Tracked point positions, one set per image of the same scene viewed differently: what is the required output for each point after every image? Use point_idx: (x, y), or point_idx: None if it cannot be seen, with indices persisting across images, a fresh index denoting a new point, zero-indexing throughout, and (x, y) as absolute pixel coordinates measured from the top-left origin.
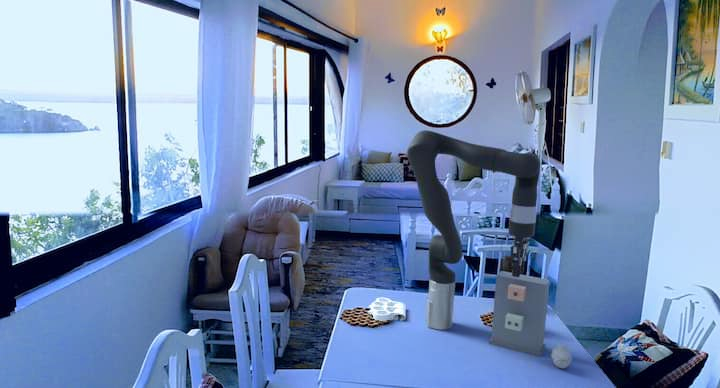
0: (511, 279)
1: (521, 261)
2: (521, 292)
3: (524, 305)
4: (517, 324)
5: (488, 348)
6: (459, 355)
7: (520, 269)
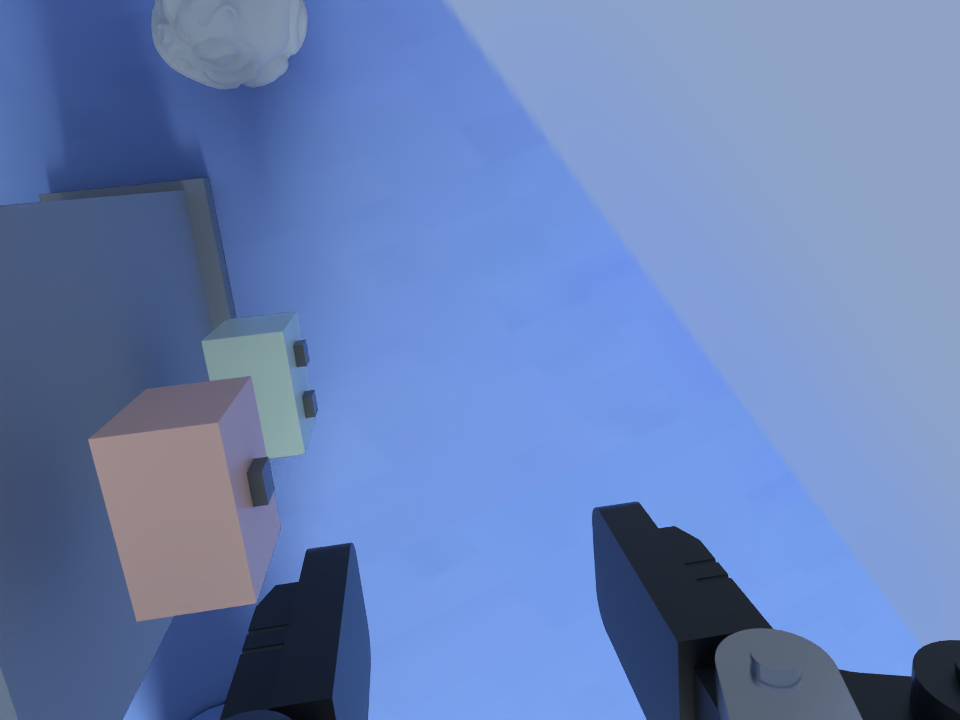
0: (13, 671)
1: (737, 710)
2: (233, 434)
3: (98, 387)
4: (304, 344)
5: (325, 449)
6: (506, 522)
7: (645, 575)
